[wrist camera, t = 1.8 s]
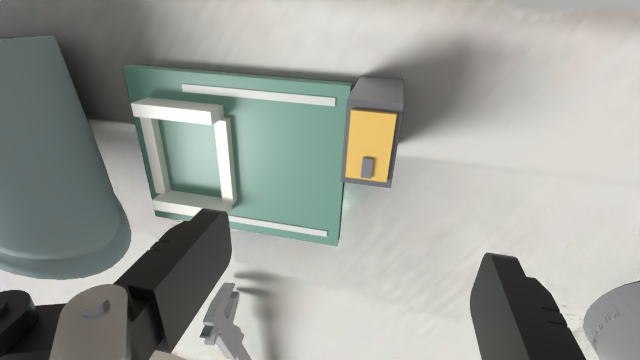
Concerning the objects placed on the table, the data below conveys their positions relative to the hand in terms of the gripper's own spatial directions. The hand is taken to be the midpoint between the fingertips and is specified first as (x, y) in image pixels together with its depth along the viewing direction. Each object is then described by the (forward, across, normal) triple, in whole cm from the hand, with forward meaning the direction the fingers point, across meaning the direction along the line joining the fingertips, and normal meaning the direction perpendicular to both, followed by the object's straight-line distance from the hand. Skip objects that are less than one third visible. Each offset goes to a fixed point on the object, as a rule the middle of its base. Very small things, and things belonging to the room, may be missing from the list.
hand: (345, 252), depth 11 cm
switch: (+16, 0, 0) cm, 17 cm away
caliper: (+18, +11, +30) cm, 36 cm away
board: (+16, +11, +5) cm, 20 cm away
